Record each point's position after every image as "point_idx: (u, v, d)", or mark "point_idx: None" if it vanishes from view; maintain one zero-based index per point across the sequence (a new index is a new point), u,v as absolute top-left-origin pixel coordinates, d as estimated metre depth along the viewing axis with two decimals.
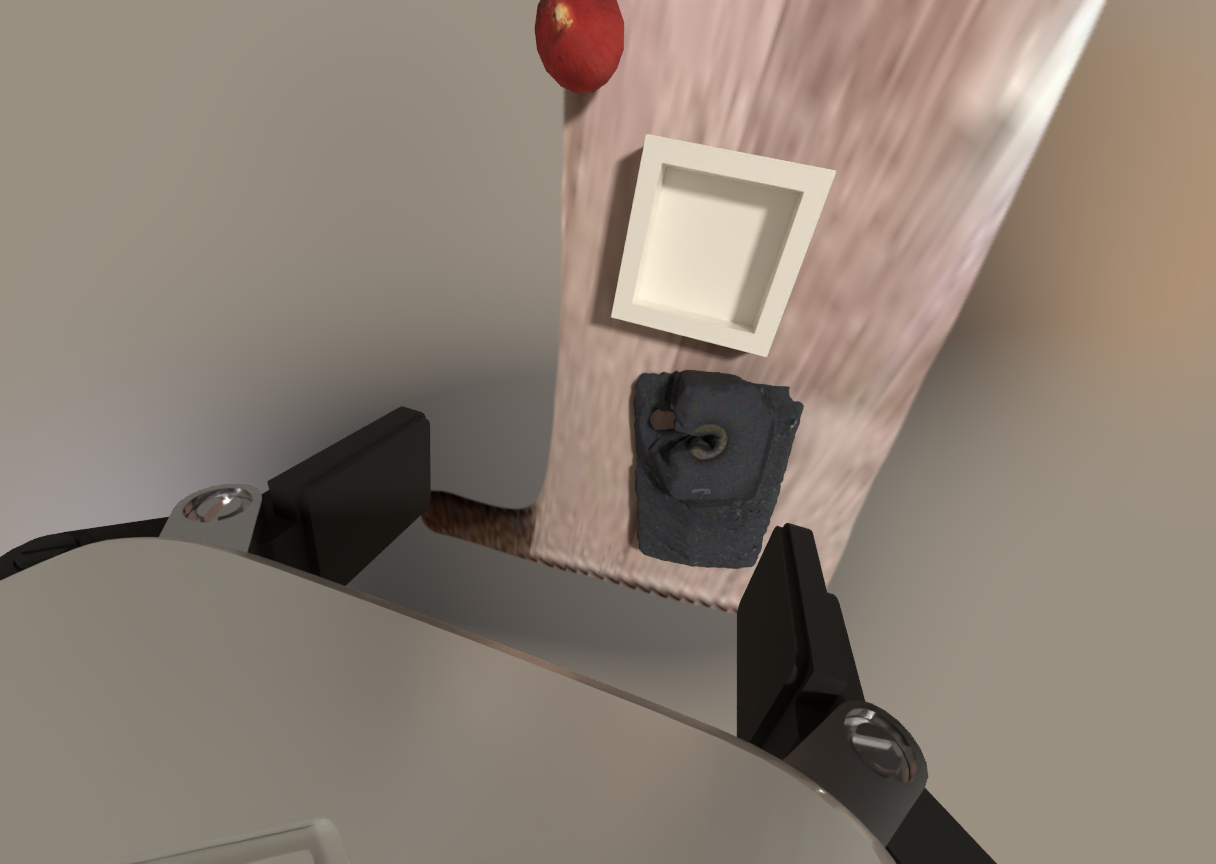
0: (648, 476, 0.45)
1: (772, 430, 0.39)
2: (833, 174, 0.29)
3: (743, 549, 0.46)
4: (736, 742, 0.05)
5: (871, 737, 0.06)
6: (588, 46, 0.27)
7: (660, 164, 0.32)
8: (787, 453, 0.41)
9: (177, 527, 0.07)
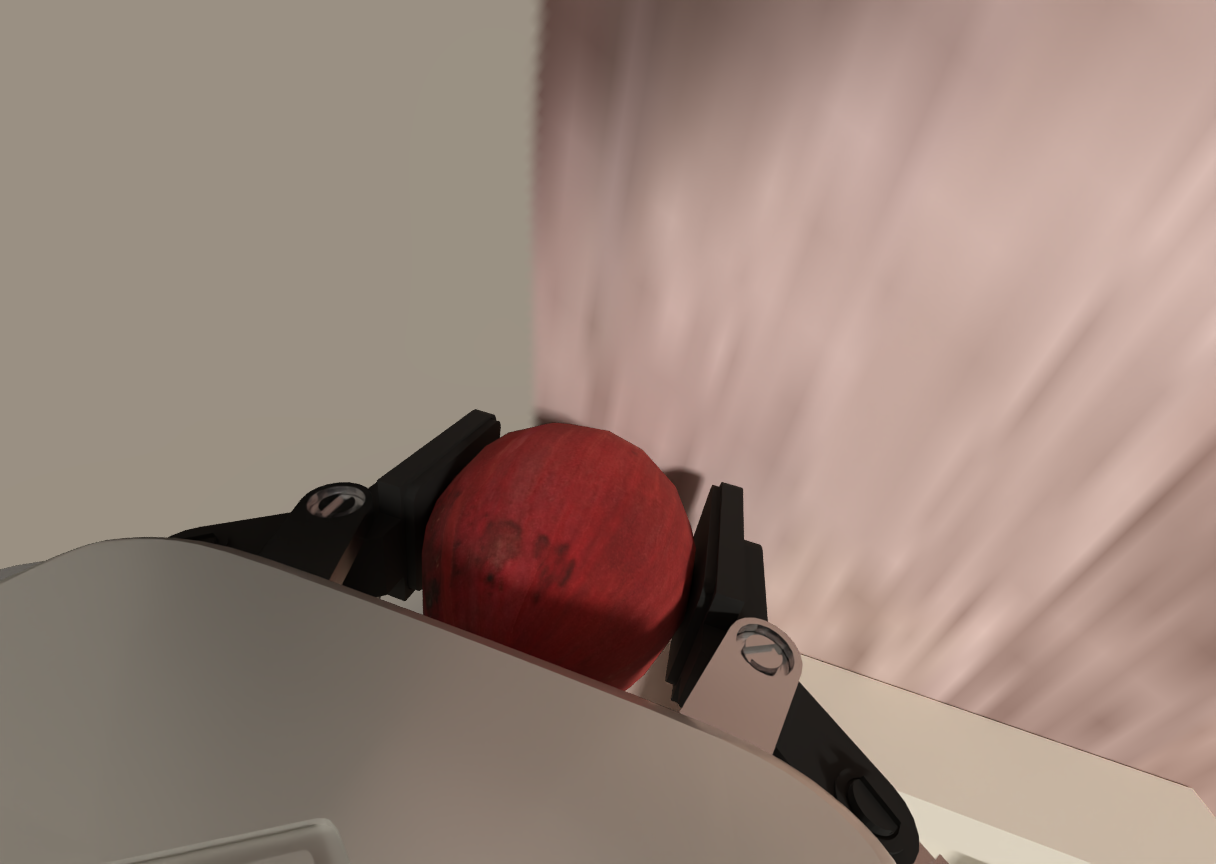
0: None
1: None
2: None
3: None
4: (736, 742, 0.05)
5: (758, 646, 0.07)
6: None
7: None
8: None
9: (307, 522, 0.08)
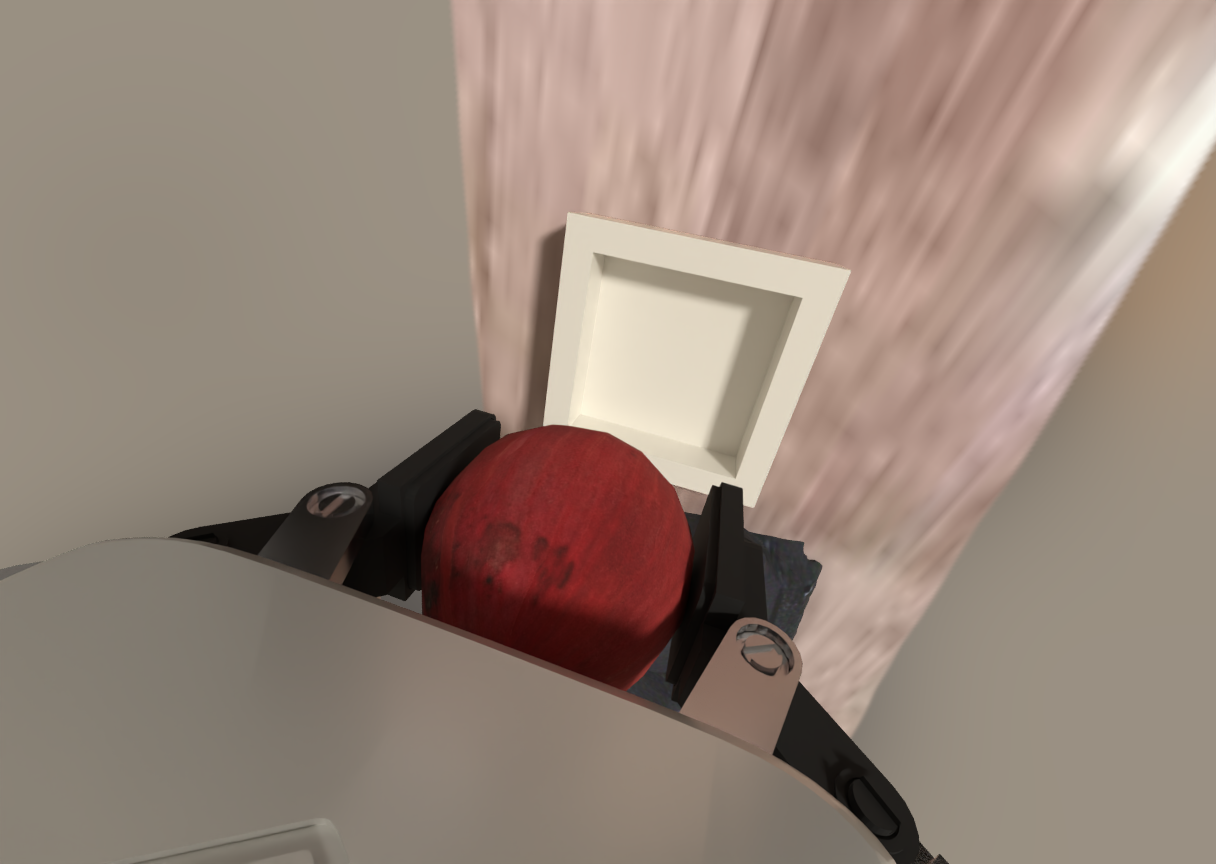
0: None
1: (780, 599, 0.29)
2: (846, 275, 0.19)
3: None
4: (736, 742, 0.05)
5: (757, 646, 0.07)
6: None
7: (591, 254, 0.22)
8: (798, 620, 0.31)
9: (306, 522, 0.08)
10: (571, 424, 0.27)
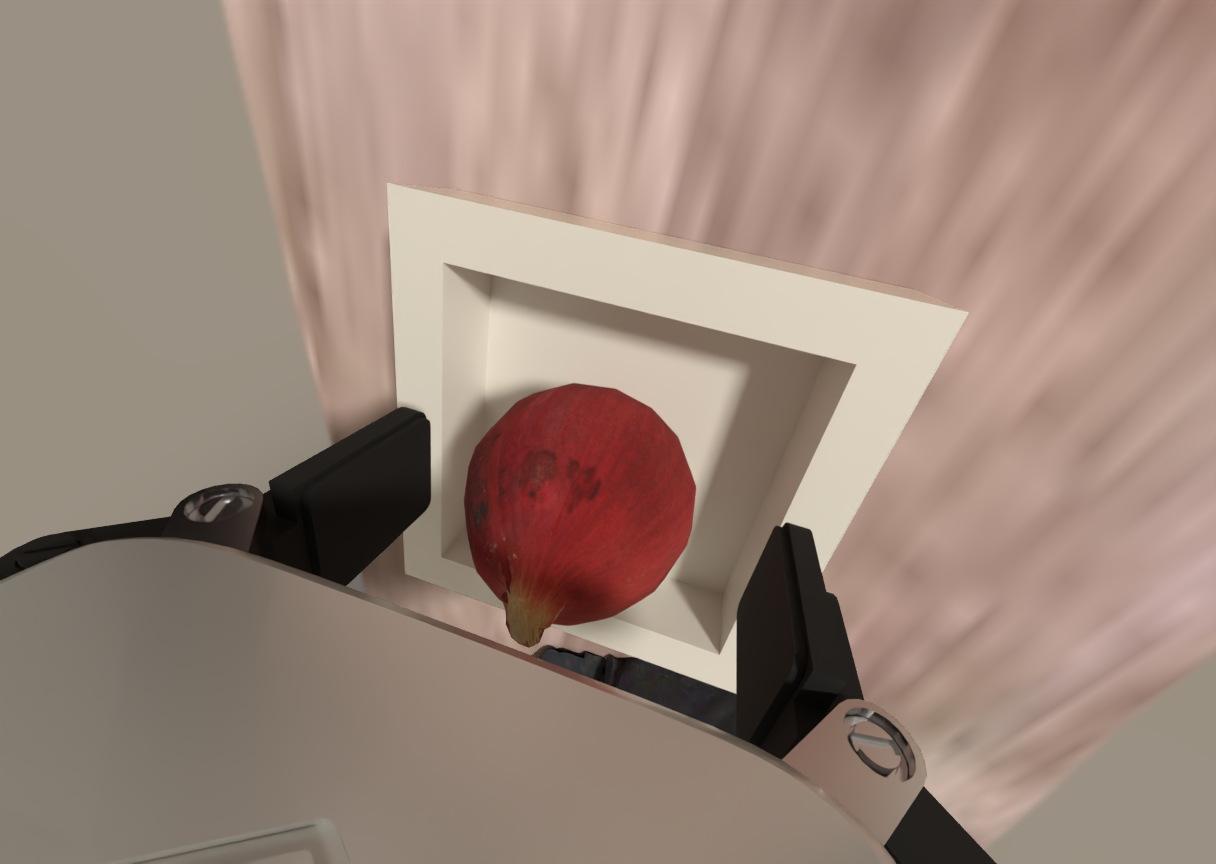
0: None
1: None
2: (957, 322, 0.09)
3: None
4: (736, 742, 0.05)
5: (870, 736, 0.06)
6: (608, 612, 0.10)
7: (441, 266, 0.11)
8: None
9: (178, 527, 0.07)
10: (453, 541, 0.16)
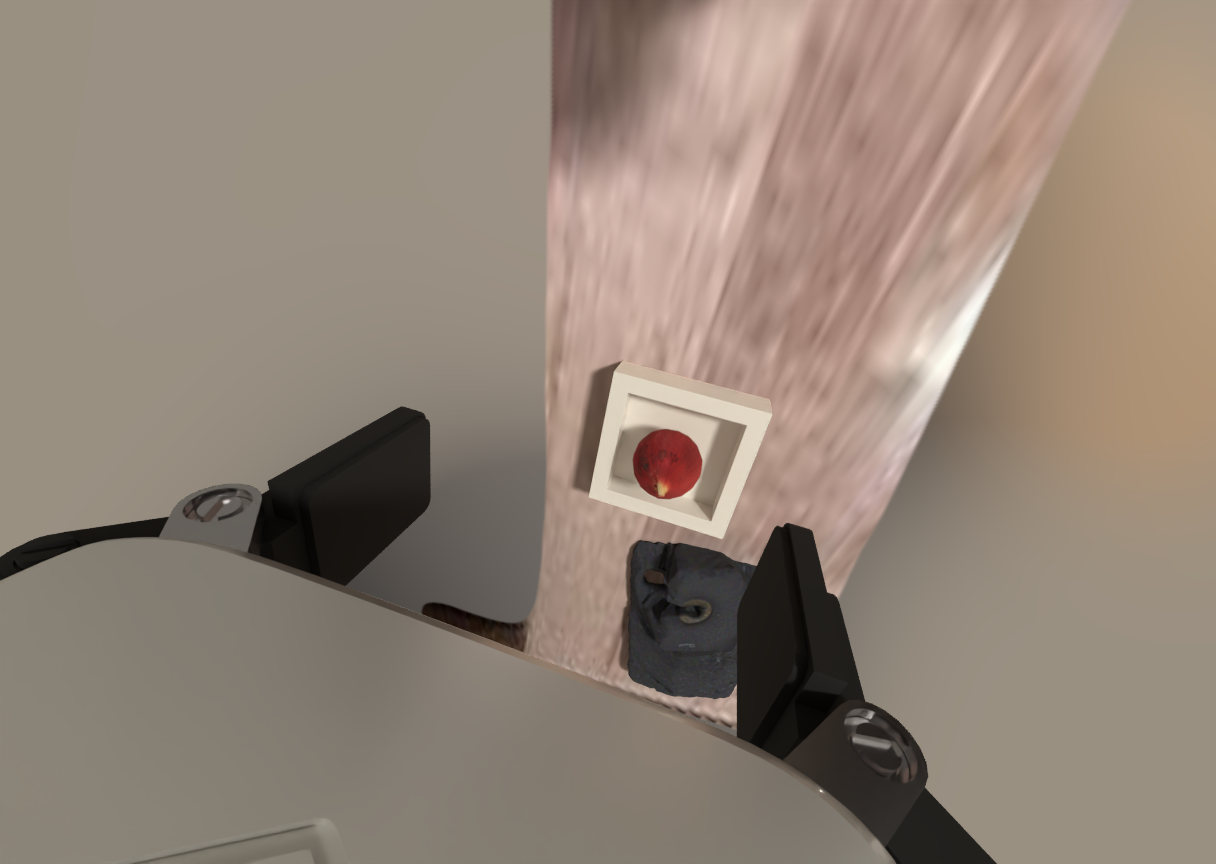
0: (640, 621, 0.50)
1: None
2: (770, 416, 0.35)
3: (721, 685, 0.52)
4: (736, 742, 0.05)
5: (871, 737, 0.06)
6: (678, 493, 0.36)
7: (626, 393, 0.37)
8: None
9: (177, 527, 0.07)
10: (608, 484, 0.43)
